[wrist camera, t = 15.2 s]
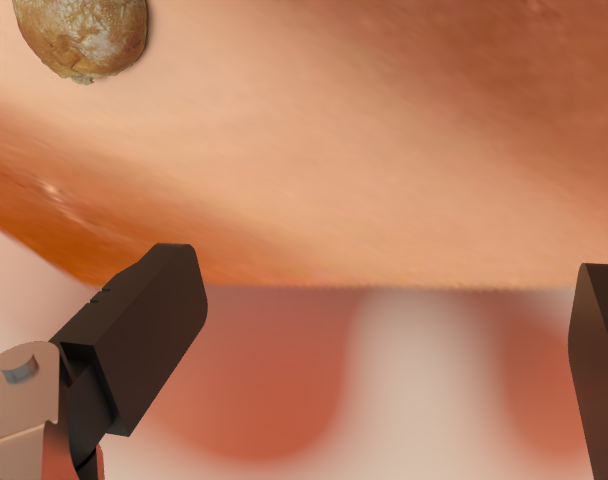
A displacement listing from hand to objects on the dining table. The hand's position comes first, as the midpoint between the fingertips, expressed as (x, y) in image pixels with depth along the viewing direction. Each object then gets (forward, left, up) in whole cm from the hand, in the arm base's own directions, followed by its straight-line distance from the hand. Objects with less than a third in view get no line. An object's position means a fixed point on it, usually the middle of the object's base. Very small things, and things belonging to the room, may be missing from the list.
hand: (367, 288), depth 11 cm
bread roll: (-3, -27, -30) cm, 41 cm away
